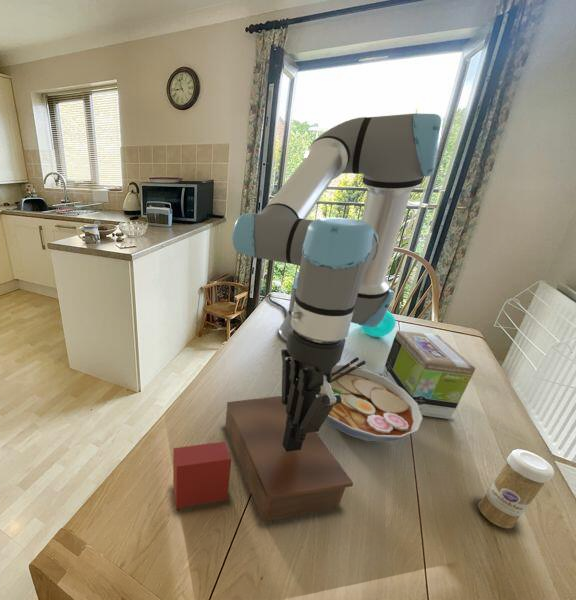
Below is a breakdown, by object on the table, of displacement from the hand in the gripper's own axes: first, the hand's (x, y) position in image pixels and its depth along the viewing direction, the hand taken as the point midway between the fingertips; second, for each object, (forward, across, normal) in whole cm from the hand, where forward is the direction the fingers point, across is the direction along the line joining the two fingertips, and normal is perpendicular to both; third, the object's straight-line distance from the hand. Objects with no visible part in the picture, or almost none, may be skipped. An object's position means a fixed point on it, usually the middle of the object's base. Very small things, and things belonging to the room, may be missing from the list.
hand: (291, 447), depth 54 cm
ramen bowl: (+10, -12, +23) cm, 27 cm away
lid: (+2, -3, 0) cm, 4 cm away
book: (+9, 0, -16) cm, 19 cm away
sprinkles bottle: (+10, +11, +33) cm, 36 cm away
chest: (+9, -4, 0) cm, 10 cm away
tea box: (+10, -17, +44) cm, 48 cm away
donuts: (+10, -48, +57) cm, 75 cm away
